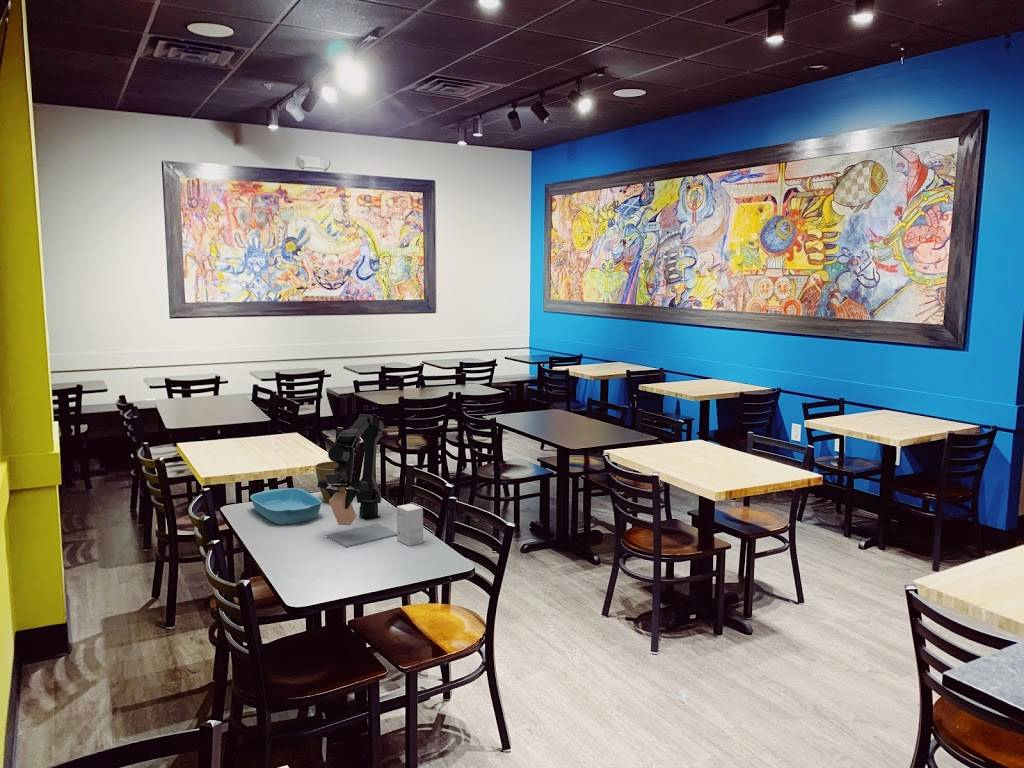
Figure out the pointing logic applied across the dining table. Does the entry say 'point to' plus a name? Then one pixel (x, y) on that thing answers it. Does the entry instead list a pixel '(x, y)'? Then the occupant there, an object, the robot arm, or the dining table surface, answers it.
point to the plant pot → (321, 475)
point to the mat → (362, 535)
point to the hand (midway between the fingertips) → (340, 508)
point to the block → (342, 509)
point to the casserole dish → (286, 505)
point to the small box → (410, 524)
